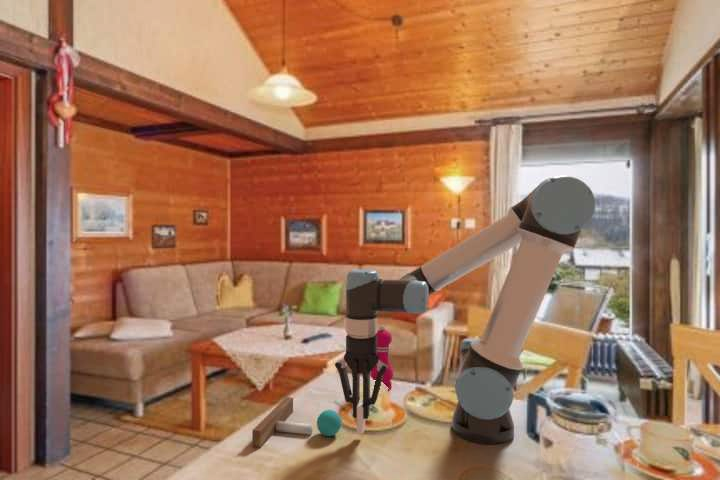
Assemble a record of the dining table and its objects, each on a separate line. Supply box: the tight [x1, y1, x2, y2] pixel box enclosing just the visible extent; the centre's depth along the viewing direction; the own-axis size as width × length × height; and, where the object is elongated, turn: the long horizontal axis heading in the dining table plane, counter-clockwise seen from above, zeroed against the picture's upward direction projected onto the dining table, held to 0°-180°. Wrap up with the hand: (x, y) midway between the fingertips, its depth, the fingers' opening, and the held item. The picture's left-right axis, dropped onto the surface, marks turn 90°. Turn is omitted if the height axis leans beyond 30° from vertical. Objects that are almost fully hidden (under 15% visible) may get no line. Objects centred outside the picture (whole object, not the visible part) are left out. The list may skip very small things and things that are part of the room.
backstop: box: [251, 396, 294, 449], centre depth 111 cm, size 2×20×4 cm, turn 167°
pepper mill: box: [370, 324, 394, 391], centre depth 139 cm, size 7×7×20 cm
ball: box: [316, 409, 342, 437], centre depth 107 cm, size 6×6×6 cm
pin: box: [275, 421, 314, 436], centre depth 109 cm, size 2×2×9 cm
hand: (361, 430), depth 106 cm, fingers closed
